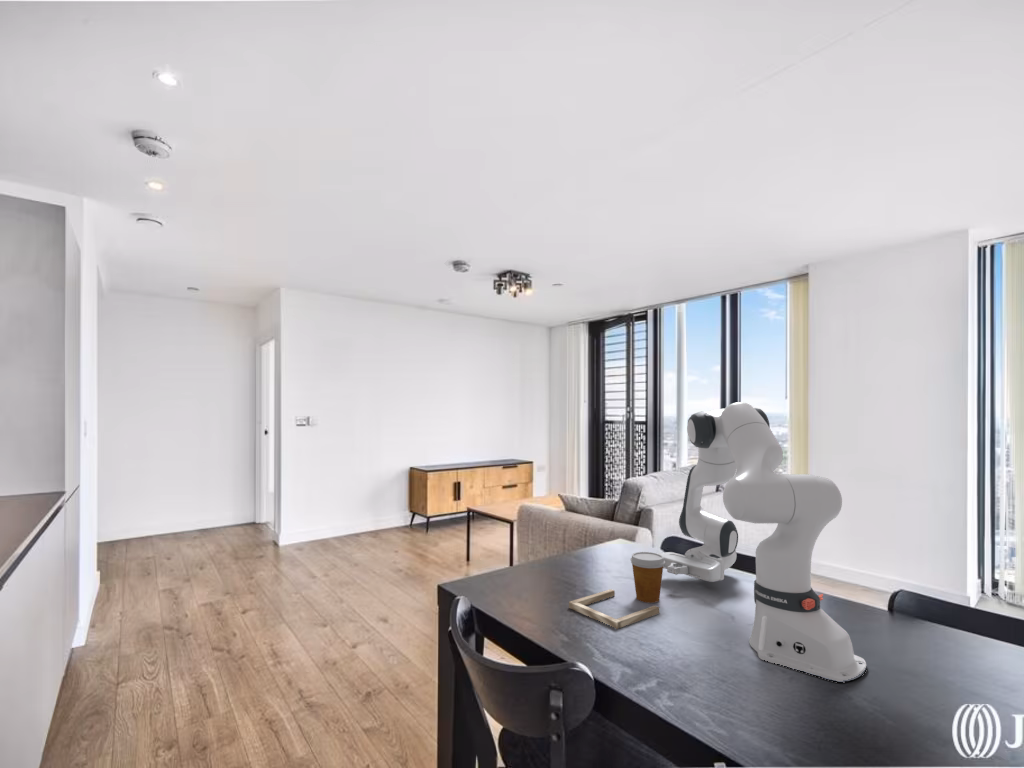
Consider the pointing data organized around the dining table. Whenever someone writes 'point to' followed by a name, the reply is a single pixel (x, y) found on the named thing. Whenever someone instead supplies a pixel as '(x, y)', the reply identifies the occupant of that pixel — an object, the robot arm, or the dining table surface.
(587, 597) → the cup bay
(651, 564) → the disposable coffee cup
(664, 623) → the dining table surface
